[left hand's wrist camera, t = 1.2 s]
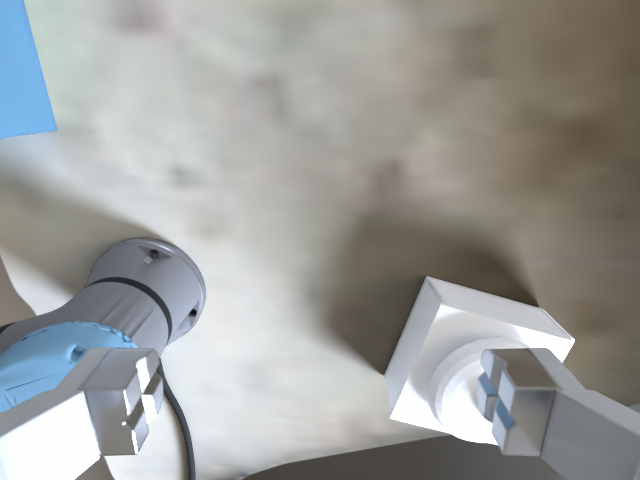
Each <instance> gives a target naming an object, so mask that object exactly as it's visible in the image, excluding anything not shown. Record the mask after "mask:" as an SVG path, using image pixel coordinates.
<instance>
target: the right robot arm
mask: <svg viewBox="0 0 640 480" xmlns="http://www.w3.org/2000/svg"><path fill="white" fill-rule="evenodd" d="M205 298H206V290H205V284H204V280H203V277H202V275H201V273H200V271H199V269H198V267H197V266H196V264H195V263H194V262H193V261H192V260H191V258H190V257H189V256H188V255H186V254H185V253H184V252H183V251H181V250H180V249H178V248H177V247H175V246H173V245H171V244H169V243H167V242H164V241H161V240H157V239H152V238H134V239H129V240H125V241H123V242H120V243H118V244H116V245H115V246H113V247H112V248H110V249H109V250H108V251H106V252H105V253H104V254H103V255H101V256H100V257H99V259H98V260H97V261H96V262H95V264H94V266H93V268H92V270H91V272H90V275H89V278H88V280H87V282H86V285H85V287H84V289H83V290H82V291H80V292H79V293H78V294H77V295H76V296H74V297H73V298H72V299H71V300H70V301H68V302H67V303H66V304H65V305H63V306H62V307H60V308H58V309H56V310H54V311H51V312H49V313H46V314H42V315H39V316H35V317H32V318H28V319H25V320H21V321H18V322H14V323H10V324H7V325H3V326H0V413H2V412H4V411H6V410H8V409H10V408H12V407H14V406H16V405H18V404H20V403H22V402H24V401H26V400H28V399H30V398H32V397H34V396H36V395H38V394H40V393H42V392H44V391H46V390H54V389H55V388H56V387H57V386H58V384H59V383H60V382H61V381H62V380H63V379H64V378H65V377H66V375H67V374H68V373H69V372H70V371H71V370H72V369H73V368H74V367H75V365H76V364H77V363H78V362H79V361H80V360H81V359H82V358H83V356H84V355H85V354H86V353H87V352H88V351H89V350H90V349H92V348H108V347H112V348H154V349H155V350H156V351H157V352H158V357H159V362H160V363H159V365H158V367H157V369H156V372H157V373H158V374H159V375H160V376H161V377H162V381H163V391H164V393H165V395H166V396H167V398H168V400H169V402H170V403H171V405H172V407H173V409H174V411H175V413H176V415H177V417H178V419H179V422H180V425H181V428H182V431H183V435H184V439H185V444H186V450H187V457H188V466H189V480H195V463H194V455H193V448H192V441H191V436H190V432H189V428H188V425H187V422H186V419H185V416H184V414H183V412H182V409H181V407H180V405H179V404H178V402H177V400H176V398H175V396H174V395H173V393H172V391H171V389H170V387H169V385H168V383H167V381H166V379H165V376H164V372H163V368H162V363H161V359H160V355H161V354H162V352H163V350H164V348H165V347H166V346H167V345H169V344H170V343H172V342H173V341H175V340H177V339H178V338H180V337H181V336H183V335H184V334H186V333H187V332H188V331H189V330H190V329H191V328H192V327H193V326H194V325H195V323H196V322H197V320H198V318H199V316H200V314H201V312H202V310H203V307H204V304H205Z"/></svg>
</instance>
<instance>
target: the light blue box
mask: <svg viewBox="0 0 640 480" xmlns="http://www.w3.org/2000/svg"><path fill="white" fill-rule="evenodd" d="M56 130H57V127H56V123H55V119H54V115H53V112H52V108H51V104H50V100H49V97H48V93H47V89H46V85H45V81H44V78H43V74H42V70H41V66H40V62H39V59H38V55H37V51H36V47H35V44H34V40H33V36H32V32H31V28H30V25H29V21H28V17H27V13H26V10H25V6H24V2H23V0H0V138H5V137H12V136H20V135H27V134H34V133H41V132H48V131H56Z"/></svg>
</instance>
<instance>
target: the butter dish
mask: <svg viewBox="0 0 640 480" xmlns="http://www.w3.org/2000/svg"><path fill="white" fill-rule="evenodd" d="M573 343H574V338H573V337H572V336H571V335H569V334H568V333H567V332H566V331H565V330H564V329H563V328H562V327H561V326H560V325H559V324H558V323H557V322H556V321H555V320H554V319H553V318H552V317H551V316H550V315H549V314H548V313H547V312H546V311H545V310H544V309H541V308H538V307H534V306H531V305H527V304H524V303H520V302H517V301H513V300H510V299H506V298H503V297H499V296H495V295H492V294H488V293H485V292H481V291H478V290H474V289H471V288H467V287H464V286H460V285H457V284H453V283H450V282H446V281H443V280H439V279H435V278H432V277H428V276H426V278H425V280H424V283H423V285H422V287H421V290H420V292H419V294H418V297H417V299H416V302H415V304H414V306H413V309H412V311H411V313H410V316H409V318H408V320H407V323H406V325H405V327H404V330H403V332H402V335H401V337H400V339H399V342H398V344H397V346H396V349H395V351H394V353H393V356H392V358H391V361H390V363H389V365H388V368H387V370H386V372H385V375H384V381H385V386H386V390H387V394H388V399H389V403H390V408H391V411H390V413H389V417H390V419H394V420H398V421H402V422H406V423H410V424H414V425H418V426H422V427H426V428H431V429H435V430H439V431H443V432H447V433H451V434H452V435H454V436H456V437H458V438H461V439H464V440H467V441H473V442H479V443H492V444H496V445H498V444H497V442H496V440H495V439H494V437H493V435H492V433H491V430H492V423H491V422H490V421H488V420H487V419H485V418H484V417H483V414H482V412H481V410H480V407H479V404H478V400H477V381H478V377H479V376H480V375H481V374H482V373H483V372H484V371H485V370H484V369H483V367H482V365H481V363H480V361H481V356H482V353H483V351H484V349H514V348H537V347H546V348H548V349H550V350H551V351H552V352H553V353H554V354H555V355H556V356H557V358H558V359H559V360H560V361H561V362H563V360H564V358H565V357H566V355H567V353H568V352H569V350H570V348H571V347H572V345H573Z"/></svg>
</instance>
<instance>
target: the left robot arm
mask: <svg viewBox="0 0 640 480" xmlns="http://www.w3.org/2000/svg"><path fill="white" fill-rule="evenodd" d="M159 363H160V362H159V357H158V352H157V351H156V350H155V349H154V348H112V347H108V348H92V349H90V350H89V351H88V352H87V353H86V354H85V355H84V356H83V358H82V359H81V360H80V361H79V362H78V363H77V364H76V365H75V367H74V368H73V369H72V370H71V371H70V372H69V373H68V374H67V375H66V377H65V378H64V379H63V380H62V381H61V382H60V383H59V384H58V386H57V387H56V388H55V389H54V390H46V391H44V392H42V393H40V394H38V395H36V396H34V397H32V398H30V399H28V400H26V401H24V402H22V403H20V404H18V405H16V406H14V407H12V408H10V409H8V410H6V411H4V412H2V413H0V480H74V479H75V478H76V477H77V476H79V475H80V474H81V473H82V472H83V471H85V470H86V469H87V468H88V467H89V466H91V465H92V464H93V463H94V462H95V461H96V460H98V459H99V456H113V455H137V454H138V452H139V450H140V448H141V446H142V444H143V442H144V441H145V439H146V437H147V435H148V433H149V430H148V423H149V422H150V421H152V420H153V419H155V418H156V417H157V414H158V412H159V410H160V408H161V403H162V399H163V381H162V377H161V376H160V375H159V374H158V373H157V372H156V371H155V370H156V369H157V367H158V365H159ZM480 363H481V365H482V367H483V369H484V370H485V371H484V372H483V373H482V374H481V375H480V376H479V377H478V381H477V400H478V404H479V407H480V410H481V412H482V414H483V417H484V418H485V419H487V420H488V421H490V422H491V423H492V430H491V433H492V435H493V437H494V439H495V440H496V442H497V444H498V446H499V448H500V450H501V452H502V454H503V455H527V456H541V459H543V460H544V461H545V462H546V463H547V464H548V465H550V466H551V467H552V468H553V469H554V470H556V471H557V472H558V473H559V474H560V475H562V476H563V477H564V478H565V479H566V480H640V414H639V413H638V412H636V411H634V410H632V409H630V408H628V407H626V406H624V405H622V404H620V403H618V402H616V401H614V400H612V399H610V398H608V397H606V396H604V395H602V394H600V393H598V392H596V391H594V390H586V389H585V388H584V387H583V386H582V384H581V383H580V382H579V381H578V380H577V379H576V378H575V377H574V376H573V374H572V373H571V372H570V371H569V370H568V369H567V368H566V367H565V365H564V364H563V363H562V362H561V361H560V360H559V359H558V358H557V356H556V355H555V354H554V353H553V352H552V351H551V350H550V349H548V348H546V347H537V348H514V349H484V351H483V353H482V356H481V361H480Z"/></svg>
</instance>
